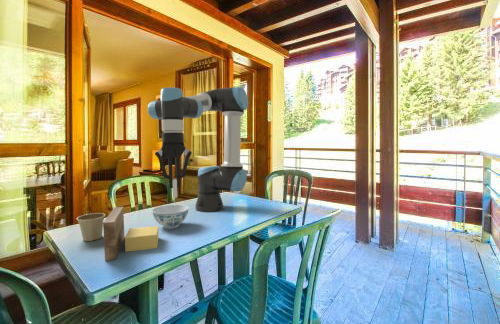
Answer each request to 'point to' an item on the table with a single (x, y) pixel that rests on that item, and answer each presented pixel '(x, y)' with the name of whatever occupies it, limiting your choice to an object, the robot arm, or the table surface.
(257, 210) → the table surface
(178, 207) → the chinaware
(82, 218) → the flower pot
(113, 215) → the walnut board
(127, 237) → the mustard block
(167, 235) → the table surface
